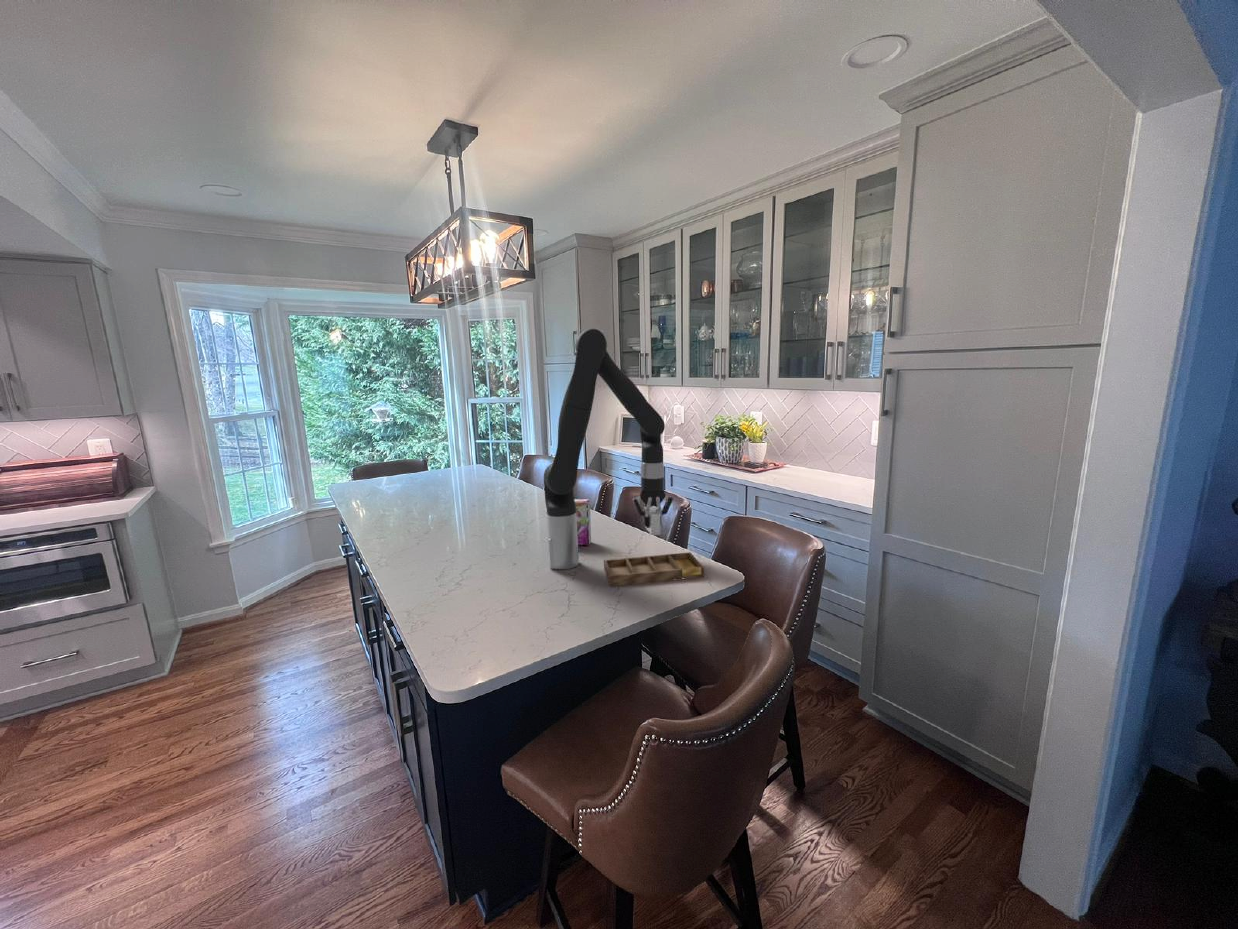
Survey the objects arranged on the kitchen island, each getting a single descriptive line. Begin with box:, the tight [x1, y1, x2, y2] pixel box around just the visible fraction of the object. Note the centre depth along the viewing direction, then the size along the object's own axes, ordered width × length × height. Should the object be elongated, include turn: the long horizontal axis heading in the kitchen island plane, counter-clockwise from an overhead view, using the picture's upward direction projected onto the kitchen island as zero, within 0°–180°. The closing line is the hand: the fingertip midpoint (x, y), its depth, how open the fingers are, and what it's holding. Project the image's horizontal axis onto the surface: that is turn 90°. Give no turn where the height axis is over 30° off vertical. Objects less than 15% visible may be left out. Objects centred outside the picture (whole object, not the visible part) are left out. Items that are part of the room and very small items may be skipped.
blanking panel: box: [644, 506, 661, 536], centre depth 164 cm, size 3×10×7 cm, turn 9°
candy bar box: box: [574, 498, 592, 547], centre depth 180 cm, size 11×5×16 cm, turn 84°
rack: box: [603, 552, 705, 587], centre depth 150 cm, size 28×14×3 cm, turn 99°
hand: (652, 526), depth 164 cm, fingers closed on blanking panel, 3 cm apart
